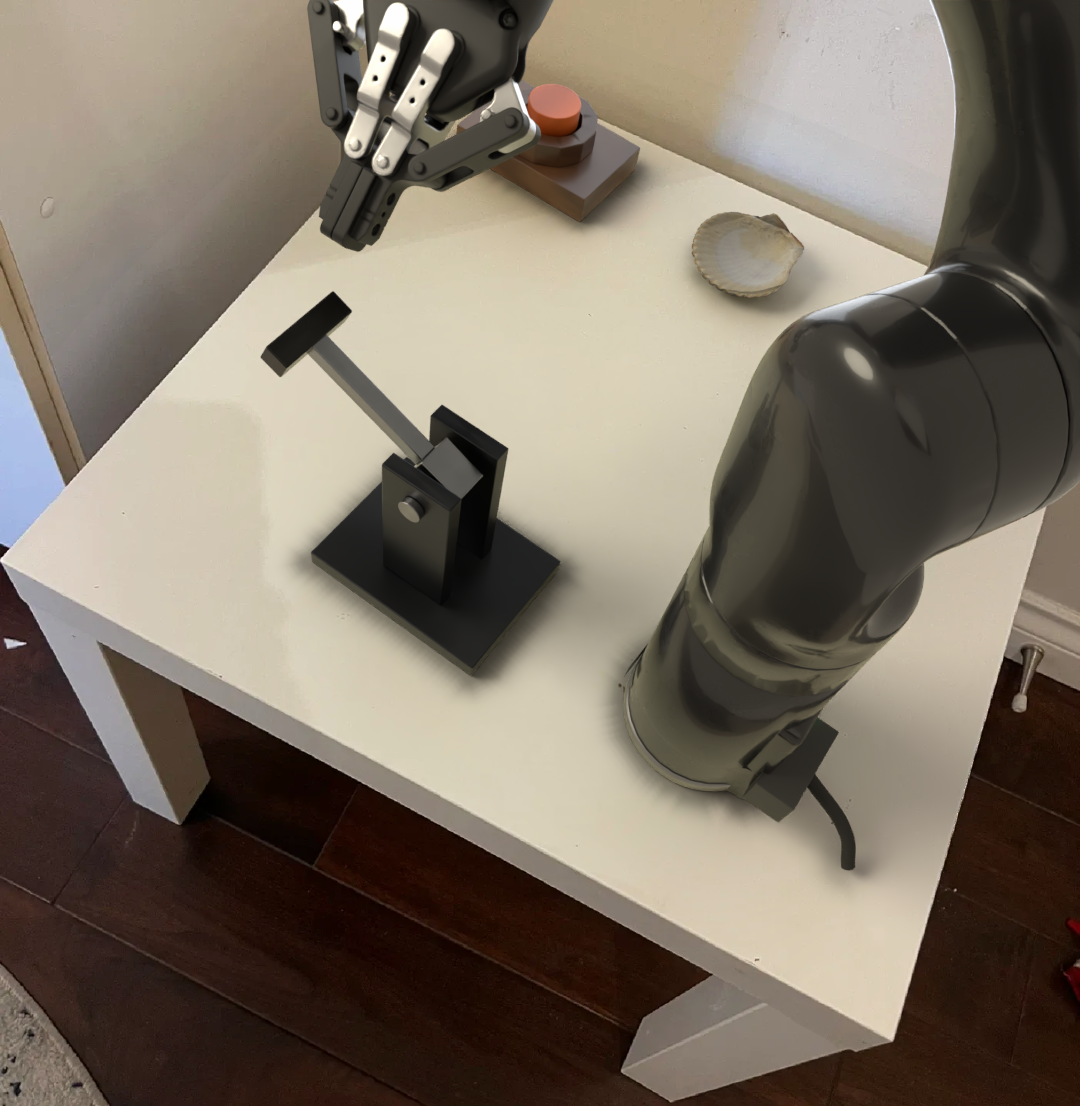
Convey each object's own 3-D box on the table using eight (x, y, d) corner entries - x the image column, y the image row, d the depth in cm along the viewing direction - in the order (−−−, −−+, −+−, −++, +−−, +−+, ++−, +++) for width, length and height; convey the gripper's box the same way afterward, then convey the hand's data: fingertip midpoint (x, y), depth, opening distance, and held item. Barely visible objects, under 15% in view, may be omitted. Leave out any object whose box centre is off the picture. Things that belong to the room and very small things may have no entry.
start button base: (635, 170, 83) (645, 127, 80) (579, 222, 80) (588, 180, 76) (514, 100, 86) (519, 56, 82) (455, 148, 82) (458, 104, 79)
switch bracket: (311, 561, 63) (296, 448, 52) (406, 466, 67) (409, 344, 57) (470, 676, 60) (487, 581, 50) (558, 570, 64) (590, 462, 54)
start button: (587, 120, 80) (591, 100, 79) (558, 145, 78) (561, 126, 77) (545, 96, 81) (548, 76, 79) (515, 120, 79) (518, 101, 78)
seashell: (674, 263, 81) (723, 319, 76) (673, 229, 79) (724, 285, 74) (767, 228, 82) (822, 282, 78) (769, 194, 80) (826, 247, 75)
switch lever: (257, 361, 53) (267, 342, 51) (323, 305, 55) (336, 285, 53) (425, 531, 55) (442, 520, 53) (481, 470, 57) (500, 458, 55)
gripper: (356, -223, 44) (190, 160, 49) (615, -87, 41) (413, 304, 46) (430, -135, 51) (279, 192, 56) (656, -14, 48) (477, 318, 53)
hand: (340, 242), depth 51 cm, fingers closed
